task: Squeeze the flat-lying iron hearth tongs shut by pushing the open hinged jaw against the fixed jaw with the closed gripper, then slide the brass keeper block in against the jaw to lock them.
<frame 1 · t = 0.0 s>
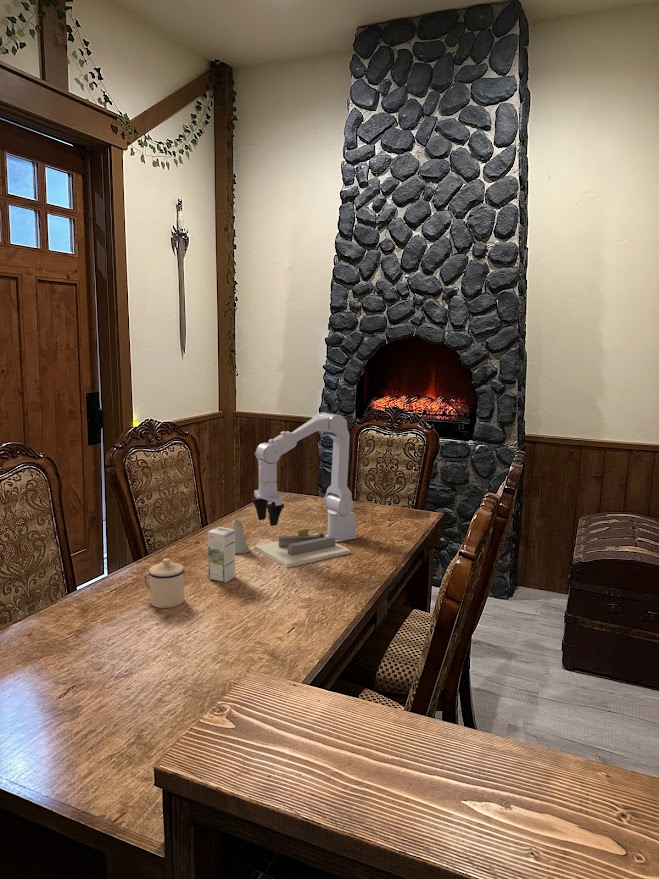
hand: (267, 522, 206), 10 cm above the table, tool pointing down, fingers open, 7 cm apart
keeper: (301, 535, 214), point 3 cm above the table, slide at 0.0 cm
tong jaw: (301, 540, 211), point 3 cm above the table, hinge at 25.0°
flask: (238, 551, 209), on the table
teacup with lid: (162, 601, 169), on the table
hearth board: (302, 551, 209), on the table
syrup box: (222, 579, 185), on the table
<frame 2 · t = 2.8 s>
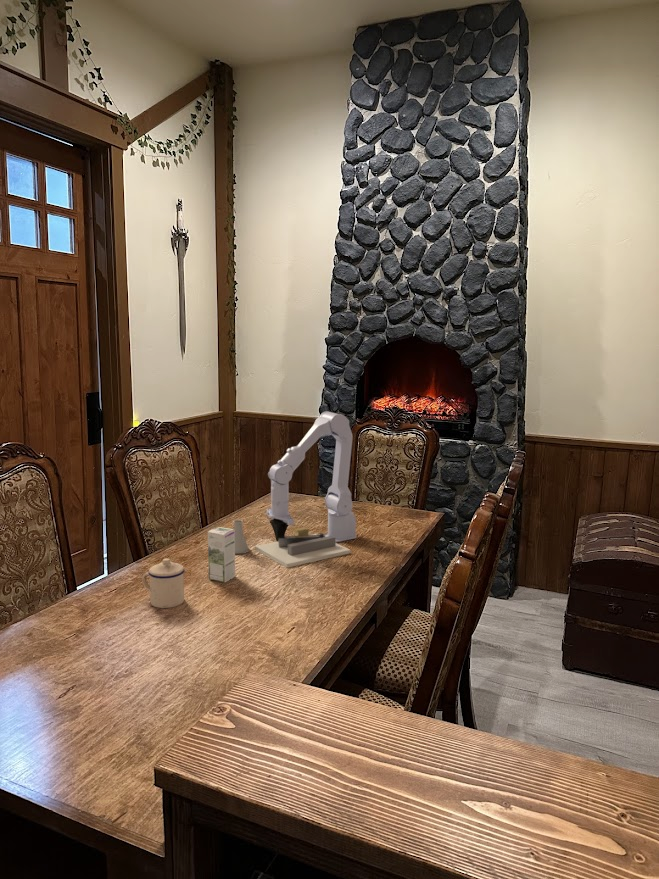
hand: (279, 540, 212), 2 cm above the table, tool pointing down, fingers closed
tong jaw: (301, 540, 211), point 3 cm above the table, hinge at 25.0°, touching gripper
everything else where it was.
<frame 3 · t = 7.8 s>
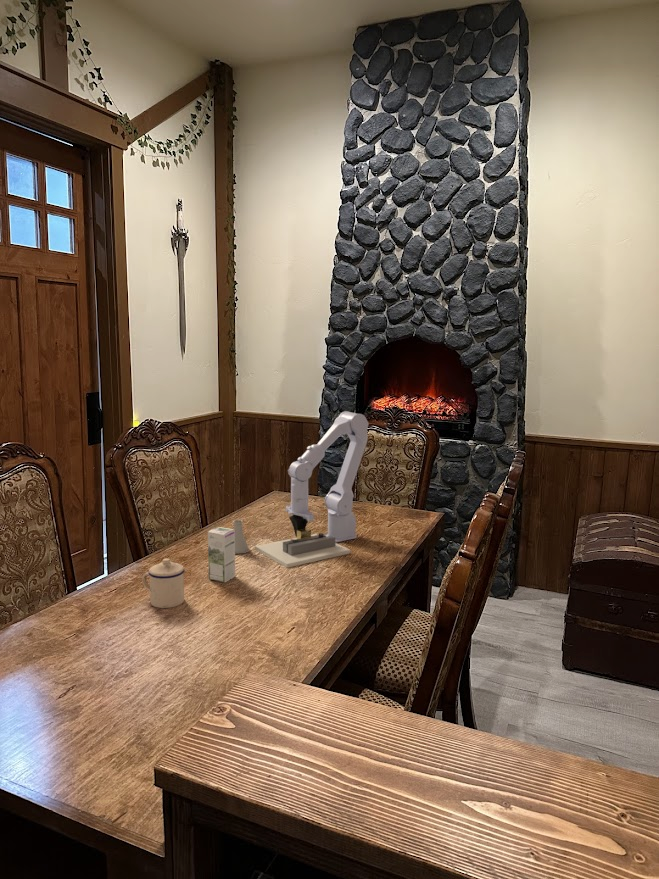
hand: (299, 537, 215), 3 cm above the table, tool pointing down, fingers closed
keeper: (303, 536, 213), point 3 cm above the table, slide at 1.6 cm, touching gripper
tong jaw: (304, 542, 208), point 3 cm above the table, hinge at 0.2°
everything else where it was.
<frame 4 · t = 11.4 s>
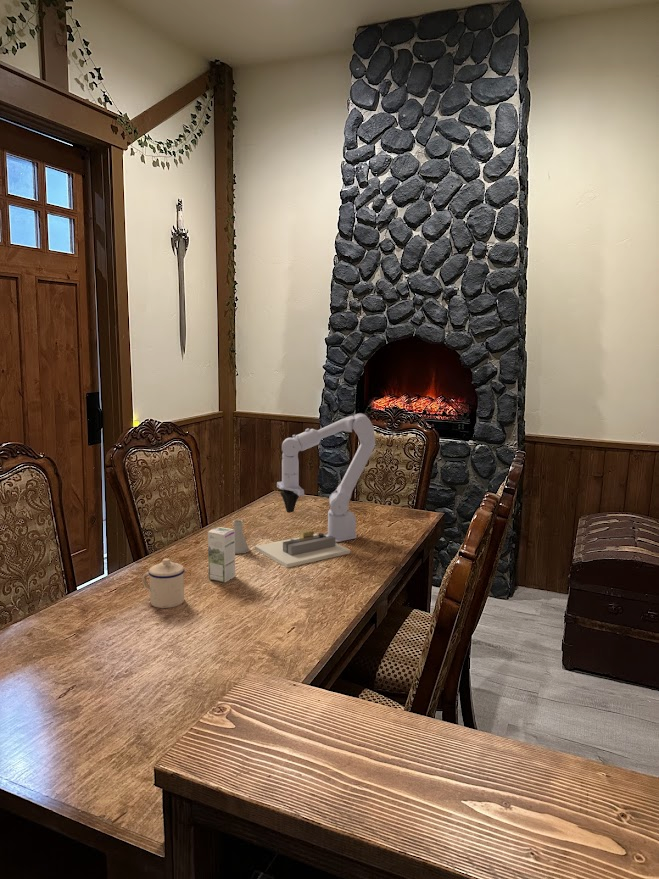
hand: (290, 511, 221), 9 cm above the table, tool pointing down, fingers closed
keeper: (306, 537, 212), point 3 cm above the table, slide at 3.0 cm
everything else where it was.
at the end: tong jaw at +0° (first picture: +25°); keeper slide at 3.0 cm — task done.
